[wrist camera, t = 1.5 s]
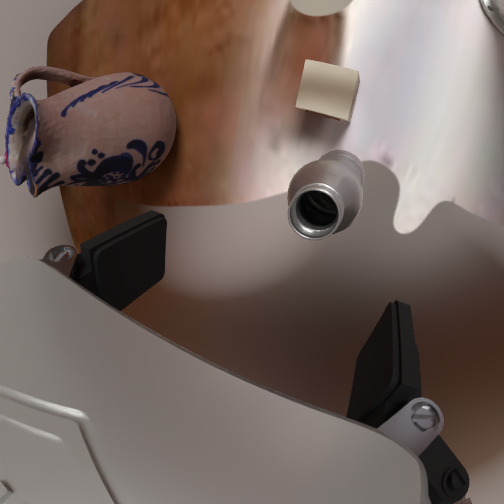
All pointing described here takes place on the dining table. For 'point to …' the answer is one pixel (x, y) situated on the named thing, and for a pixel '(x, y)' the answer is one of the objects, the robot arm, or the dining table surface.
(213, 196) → the dining table surface
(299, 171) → the silver metal bottle
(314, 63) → the beige cube
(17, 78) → the ceramic pitcher
